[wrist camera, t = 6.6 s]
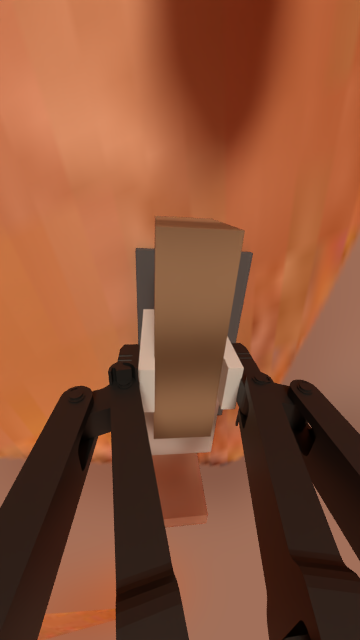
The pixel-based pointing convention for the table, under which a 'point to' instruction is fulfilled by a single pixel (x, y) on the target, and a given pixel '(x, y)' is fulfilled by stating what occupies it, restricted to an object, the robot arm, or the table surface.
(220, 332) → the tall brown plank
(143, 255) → the mat
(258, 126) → the table surface
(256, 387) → the robot arm
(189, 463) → the tile
